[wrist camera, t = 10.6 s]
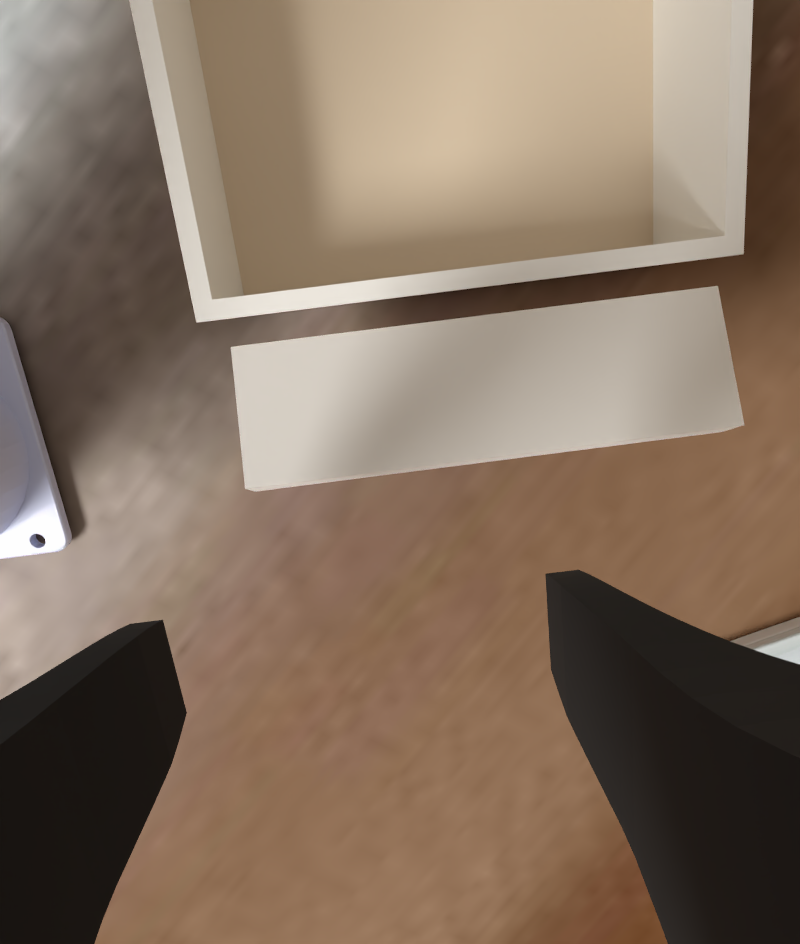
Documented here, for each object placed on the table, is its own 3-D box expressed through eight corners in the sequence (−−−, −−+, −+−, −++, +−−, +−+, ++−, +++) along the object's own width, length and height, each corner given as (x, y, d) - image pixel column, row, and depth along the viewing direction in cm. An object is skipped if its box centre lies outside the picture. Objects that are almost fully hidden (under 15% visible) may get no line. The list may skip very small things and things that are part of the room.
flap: (230, 347, 15) (242, 359, 16) (245, 488, 15) (255, 491, 16) (717, 286, 15) (697, 302, 16) (744, 425, 15) (721, 431, 16)
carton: (235, 318, 19) (196, 322, 15) (148, -139, 16) (65, -302, 12) (661, 264, 20) (743, 253, 15) (662, -200, 16) (767, -383, 12)
